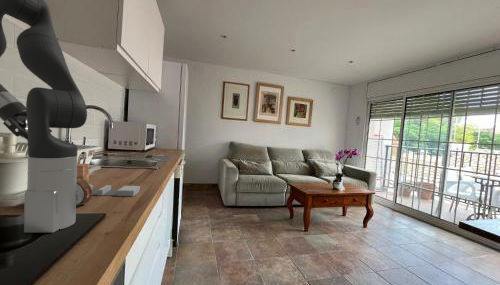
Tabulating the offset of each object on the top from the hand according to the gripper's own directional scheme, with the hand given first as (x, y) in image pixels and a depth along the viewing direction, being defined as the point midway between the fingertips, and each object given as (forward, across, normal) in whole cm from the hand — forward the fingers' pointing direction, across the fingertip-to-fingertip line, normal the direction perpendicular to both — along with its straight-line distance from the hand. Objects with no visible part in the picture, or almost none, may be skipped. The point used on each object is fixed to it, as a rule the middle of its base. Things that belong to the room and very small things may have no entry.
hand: (46, 143), depth 83 cm
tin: (+23, -13, +3) cm, 26 cm away
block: (+18, +1, +3) cm, 19 cm away
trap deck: (+26, +1, -1) cm, 26 cm away
